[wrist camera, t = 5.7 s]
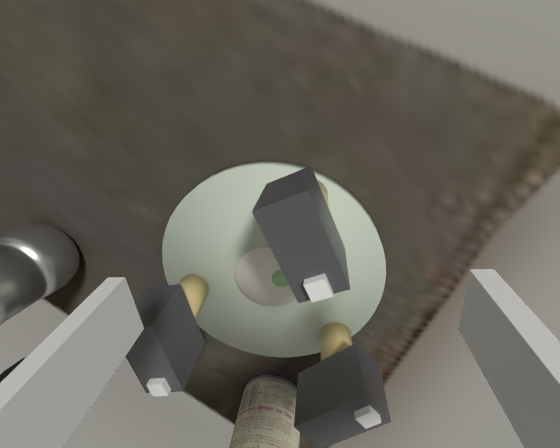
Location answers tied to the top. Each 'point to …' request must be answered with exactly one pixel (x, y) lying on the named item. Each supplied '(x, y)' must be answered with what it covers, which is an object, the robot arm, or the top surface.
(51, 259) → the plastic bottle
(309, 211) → the grey block on peg
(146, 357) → the dark grey rectangular block
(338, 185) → the base
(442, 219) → the top surface
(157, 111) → the top surface
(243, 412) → the aerosol can
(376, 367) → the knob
